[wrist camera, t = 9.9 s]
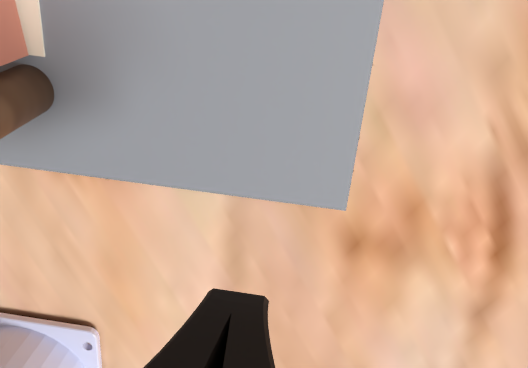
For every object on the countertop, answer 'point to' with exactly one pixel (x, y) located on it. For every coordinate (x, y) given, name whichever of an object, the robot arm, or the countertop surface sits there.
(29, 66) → the fence fixed
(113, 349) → the countertop surface
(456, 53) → the countertop surface
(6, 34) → the fence gate
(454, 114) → the countertop surface
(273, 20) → the card
